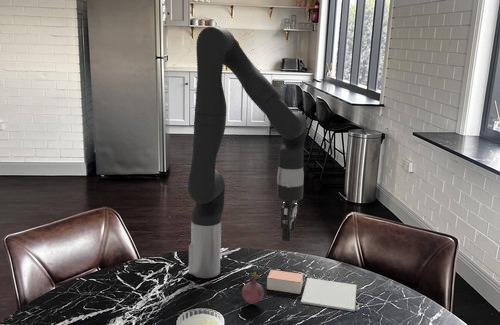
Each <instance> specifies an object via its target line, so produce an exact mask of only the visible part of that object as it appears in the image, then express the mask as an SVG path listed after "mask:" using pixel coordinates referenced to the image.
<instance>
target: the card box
mask: <svg viewBox="0 0 500 325" xmlns="http://www.w3.org/2000/svg"><path fill="white" fill-rule="evenodd" d="M303 284H304V274H303V273H298V272H292V271H291V272H290V271H283V270H277V269H276V270H275V269H270V271H269V274H268V275H267V278H266V289H267V290H271V291H272V290H273V291H279V292H285V293H292V294H296V295H297V294H298V295H301V292H302V288H303Z"/></svg>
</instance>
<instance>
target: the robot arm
mask: <svg viewBox="0 0 500 325" xmlns="http://www.w3.org/2000/svg"><path fill="white" fill-rule="evenodd" d="M195 45H196V46H195V47H196V70H197V72H196V73H197V75H196V76H197V77H196V80H197V81H196V89H195V90H196V91H195V103H194V104H195V106H194V116H193V118H194V119H193V137H192V138H193V140H192V141H193V142H192V158H191V164H190V169H189V177H188V181H187V191H188V194H189V197H190V198H191V200H192V201H193V202H194V203H195V205H194V208H193V209H192V212H191V215H190V216H191V217H190V218H191V219H190V220H191V223H190V226H191V228H190V229H191V232H190V238H191V241H190V242H191V243H190V244H189V245H188V274H190V275H192V276H193V277H196V278H200V279H211V278H215V277H217V276H218V275H220V273H221V251H222V250H221V242H222V239H221V238H222V216H223V214H224V213H223V212H224V207H225V190H226V187H225V186H226V185H225V178H224V177H223V175H222V173H221V172H220V171H218V170H217V169H216V163H217V162H216V161H217V156H218V154H219V150H220V147H221V144H222V141H223V138H224V135H225V130H226V124H227V123H226V122H227V102H226V97H225V91H224V87H223V67H224V66H226V67H227V68H228V69H229V70H230V71H231V72H232V73H233V74H234V76H235V77H236V78H237V80H238V81H239V84H241V87H242V88H243V91H245V93H246V94H247V96H248V97H249V98H250V99H251V101H252V102H253V103H254V104H255V105H256V106H257V107H258V108H259V110H260V111H261V112H262V113H264V114H265V116H266V118H267V119H268V121H269V122H270V124H271V126H272V127H273V128H274V130H275V131H276V132H277V134H279V135H280V136H281V138H282V139H281V140H282V142H281V143H282V144H281V146H280V148H279V152H278V167H277V168H278V169H277V176H276V178H277V179H276V182H277V183H276V198H278V199H279V200H281V201H283V204H281V208H280V210H281V212H280V213H281V214H280V229H282V238H281V240H282V241H284V242H290V240H291V232H292V231H295V229H296V227H295V226H296V217H297V214H298V201H301V200H302V199H303V197H304V177H305V176H304V175H305V173H304V159H305V158H304V155H305V154H304V148H305V144H306V137H307V129H308V124H307V119H306V117H305V115H303V114H302V113H301V112H299V111H292V110H291V109H290V108H289V106H287V104H286V103H285V98H284V96H283V95H282V94H281V93H280V92H279V91H278V90H277V88H275V87H274V85H273V84H272V83H271V82H270V81H269V80H268V79H267V77H265V76H264V74H262V73H261V71H260V70H259V69H258V68H257V67H256V66H255V64H254V63H253V62H252V61H251V60H250V59H249V57H248V56H247V55H246V53H245V51H244V50H243V49H242V47H241V46H240V44H239V43H238V41H237V39H236V37H234V35H233V33H232V32H231V31H230V30H228V29H226V28H224V27H220V26H219V27H218V26H207V27H205V28H203V29H202V30H201V31H200V32H199V34H198V36H197V38H196V44H195ZM285 222H287V223H285Z"/></svg>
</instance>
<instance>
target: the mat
mask: <svg viewBox="0 0 500 325" xmlns="http://www.w3.org/2000/svg"><path fill="white" fill-rule="evenodd" d="M357 286H358V285H357V284H353V283H347V282H339V281H333V280H332V281H330V280H325V279H320V278H319V279H318V278H311V277H307V279H306V282H305V285H304V289H303V293H302V297H301V300H300V304H303V305H310V306H315V307H316V306H317V307H324V308H330V309H336V310H342V311H348V312H349V311H350V312H355V311H356V300H357Z"/></svg>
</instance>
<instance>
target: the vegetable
mask: <svg viewBox="0 0 500 325" xmlns="http://www.w3.org/2000/svg"><path fill="white" fill-rule="evenodd" d="M256 280H257V272H256V271H254V272H253V275H252V278H251V281H248V282H247V283H245V284H244V285H243V286H242V290H241V295H242V298H243V300H244V301H245V302H246V303H248V304H252V305H255V304H257V303H259V302H260V301H261V300H262V299H263V297H264V295H265V291H264V290H265V289H264V288H263V286H262V285H261V284H260V283H259V282H257V281H256Z"/></svg>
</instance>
